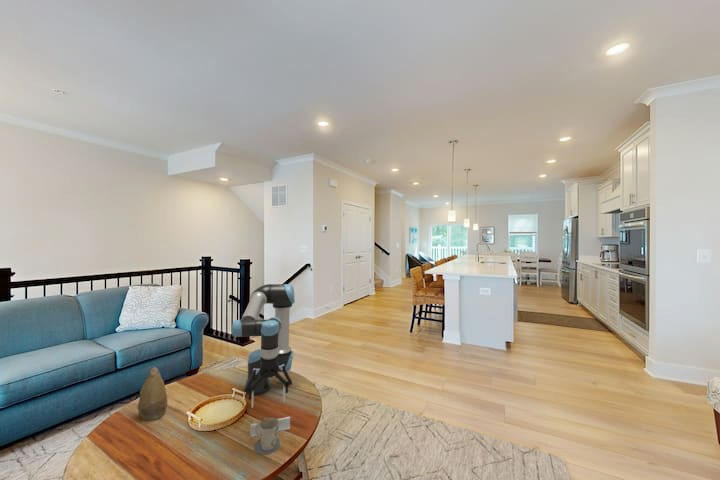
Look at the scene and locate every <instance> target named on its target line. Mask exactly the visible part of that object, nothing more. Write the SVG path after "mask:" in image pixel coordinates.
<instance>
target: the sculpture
mask: <svg viewBox="0 0 720 480" xmlns="http://www.w3.org/2000/svg"><path fill="white" fill-rule="evenodd" d="M139 395H140V396H139V400H138V404H137V405H138V406H137V410H138V412H139V413H138V414H139V416H140V418H142V419H144V420H149V421H150V420H160V419H161V418H162V417H164V415H165V414H166V410H167V407H168V397H167V396H168V395H167V390H166V385H165V382H164V379H163V378H162V375H161V373H160V371H159V369H158V367H155V366H154V367H152V368H151V369H150V371H149V373H148V374H147V376H146V379H145V381H144V383H143V385H142V387H141V388H140V391H139Z"/></svg>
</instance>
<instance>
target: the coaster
mask: <svg viewBox="0 0 720 480" xmlns="http://www.w3.org/2000/svg"><path fill="white" fill-rule="evenodd" d="M280 446H281V441H280V439H279V437H277V439H276V445H275V447H274V448H273V449H271V450H268V451H265V450H263V449H262V447H261V438H259V439H258V440H257V441H256V442H255V444H254V446H253V450H254V452H256V454H258V455H262V456H263V455H265V456H266V455H268V454H269V455H270V454H272V453H274V452H275V451H277V450H278V449H279V447H280Z"/></svg>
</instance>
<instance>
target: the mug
mask: <svg viewBox="0 0 720 480" xmlns="http://www.w3.org/2000/svg"><path fill="white" fill-rule="evenodd" d="M278 419H279V418H277V417H276V418H275V417H268V418H264V419H263V420H261V421H260V422H261V423H260V422H256V423H257V424H256V426H255V432H256V434H257V436H256V437H258V438H259V439H261V447H262V449H263V450H265V451H268V450H271V449H273V448H274V447H275V445H276V439H277V438H278V426H279V421H278ZM258 426H259V429H260V435H259V433H258V431H257V428H258Z"/></svg>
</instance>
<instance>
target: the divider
mask: <svg viewBox="0 0 720 480" xmlns="http://www.w3.org/2000/svg"><path fill="white" fill-rule="evenodd" d="M277 419H278V421H279V426H278V432H284V431H288V430H290V429H291V416H286V417H282V418H281V417H280V418H277ZM257 423H258V422H255V423H250V439H252V438H257V437H258V436H257V434H256V432H255V426H256V424H257ZM259 423H261V421H260V422H259ZM257 431H258V433H259V435H260V429H259V426H258V428H257Z"/></svg>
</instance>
